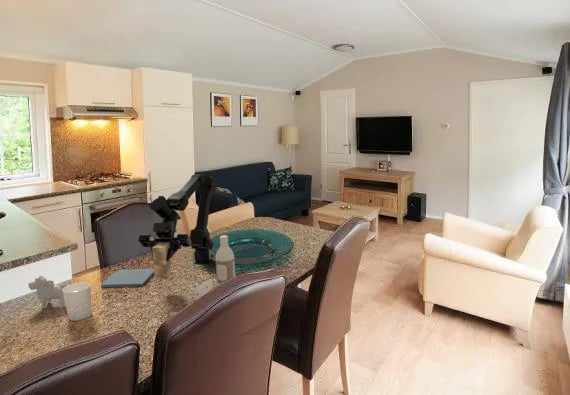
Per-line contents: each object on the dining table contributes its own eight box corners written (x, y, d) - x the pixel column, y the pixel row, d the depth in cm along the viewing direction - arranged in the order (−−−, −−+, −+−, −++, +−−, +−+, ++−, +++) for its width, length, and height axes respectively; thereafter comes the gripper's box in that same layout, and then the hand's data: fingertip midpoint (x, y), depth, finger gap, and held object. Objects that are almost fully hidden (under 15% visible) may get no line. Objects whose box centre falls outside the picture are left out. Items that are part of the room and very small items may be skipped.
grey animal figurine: (37, 302, 134) (33, 274, 132) (74, 301, 134) (70, 273, 132) (28, 309, 128) (23, 280, 126) (66, 308, 129) (62, 279, 127)
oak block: (171, 274, 142) (168, 243, 140) (167, 279, 138) (164, 247, 136) (159, 274, 142) (156, 244, 140) (155, 279, 138) (152, 247, 136)
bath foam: (214, 290, 141) (210, 238, 137) (222, 282, 147) (219, 233, 144) (230, 291, 139) (228, 239, 135) (238, 284, 145) (236, 234, 142)
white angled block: (224, 301, 125) (210, 280, 124) (200, 315, 127) (186, 293, 126) (227, 297, 129) (213, 275, 128) (203, 310, 131) (189, 289, 130)
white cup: (99, 311, 126) (95, 283, 124) (79, 323, 118) (75, 293, 116) (81, 308, 128) (77, 281, 126) (60, 319, 121) (56, 290, 119)
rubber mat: (156, 270, 162) (156, 268, 161) (142, 286, 146) (142, 283, 146) (119, 271, 162) (118, 269, 161) (101, 287, 146) (101, 284, 146)
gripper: (137, 213, 140) (126, 251, 131) (186, 212, 139) (178, 251, 130) (148, 228, 149) (138, 264, 141) (194, 228, 148) (187, 264, 139)
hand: (160, 261), depth 137 cm, fingers closed on oak block, 5 cm apart
